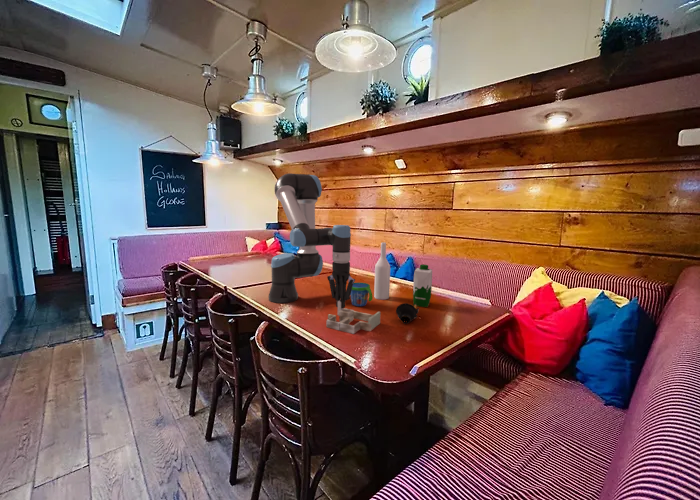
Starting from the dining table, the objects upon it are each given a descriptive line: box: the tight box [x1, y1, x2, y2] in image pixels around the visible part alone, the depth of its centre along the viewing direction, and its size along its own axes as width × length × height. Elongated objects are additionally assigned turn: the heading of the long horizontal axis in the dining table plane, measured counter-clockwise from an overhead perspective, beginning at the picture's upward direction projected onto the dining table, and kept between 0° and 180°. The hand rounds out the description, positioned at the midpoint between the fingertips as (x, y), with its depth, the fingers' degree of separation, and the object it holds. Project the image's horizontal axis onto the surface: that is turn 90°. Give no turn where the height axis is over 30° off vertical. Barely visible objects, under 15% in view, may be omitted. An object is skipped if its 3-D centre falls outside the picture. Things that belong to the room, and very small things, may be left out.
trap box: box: [325, 310, 381, 335], centre depth 129 cm, size 20×16×5 cm
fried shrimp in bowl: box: [395, 303, 420, 324], centre depth 137 cm, size 9×11×18 cm
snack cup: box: [350, 282, 373, 307], centre depth 154 cm, size 16×10×10 cm
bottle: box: [373, 241, 391, 301], centre depth 165 cm, size 8×8×30 cm
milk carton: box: [412, 264, 433, 308], centre depth 155 cm, size 9×9×20 cm
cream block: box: [338, 307, 355, 324], centre depth 133 cm, size 4×4×4 cm
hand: (340, 314), depth 134 cm, fingers closed
